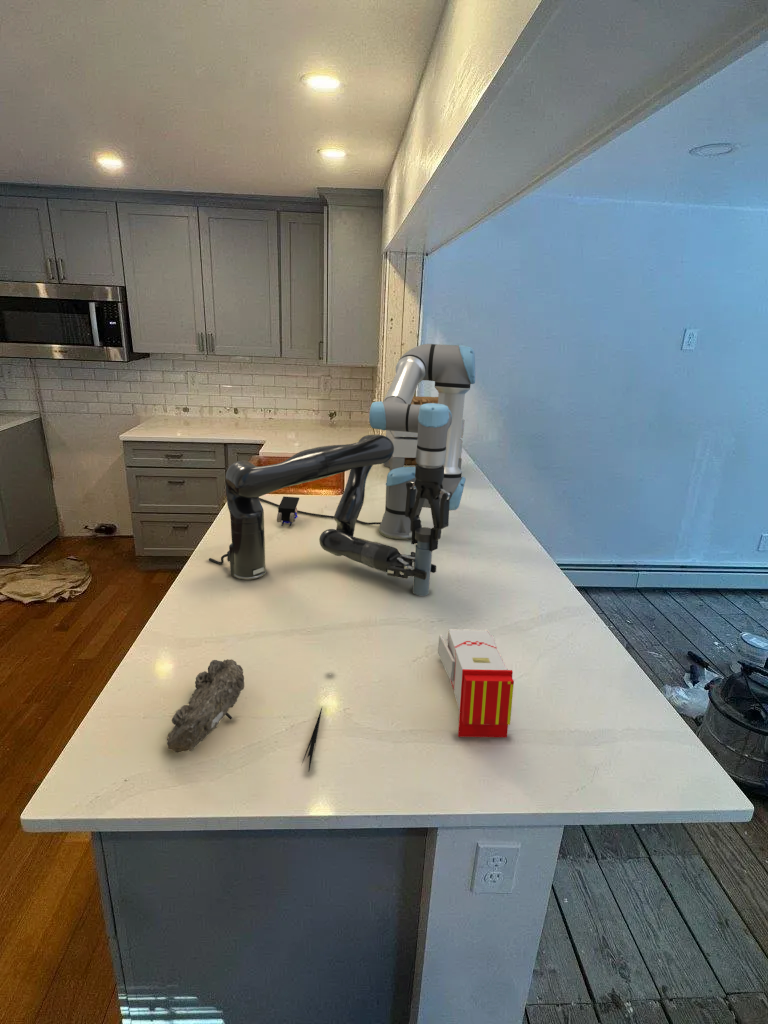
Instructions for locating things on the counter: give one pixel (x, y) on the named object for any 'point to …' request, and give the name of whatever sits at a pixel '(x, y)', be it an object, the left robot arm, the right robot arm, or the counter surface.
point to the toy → (478, 682)
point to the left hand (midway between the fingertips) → (430, 572)
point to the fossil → (206, 705)
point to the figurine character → (287, 510)
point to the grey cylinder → (422, 568)
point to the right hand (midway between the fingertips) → (424, 546)
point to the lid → (423, 534)
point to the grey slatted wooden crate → (411, 441)
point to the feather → (313, 740)
